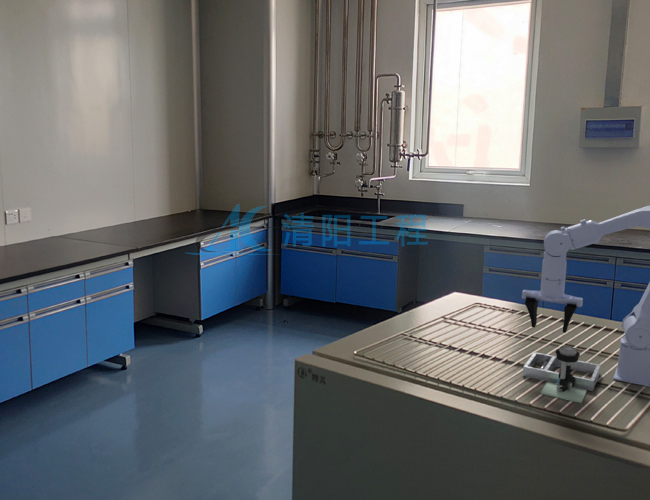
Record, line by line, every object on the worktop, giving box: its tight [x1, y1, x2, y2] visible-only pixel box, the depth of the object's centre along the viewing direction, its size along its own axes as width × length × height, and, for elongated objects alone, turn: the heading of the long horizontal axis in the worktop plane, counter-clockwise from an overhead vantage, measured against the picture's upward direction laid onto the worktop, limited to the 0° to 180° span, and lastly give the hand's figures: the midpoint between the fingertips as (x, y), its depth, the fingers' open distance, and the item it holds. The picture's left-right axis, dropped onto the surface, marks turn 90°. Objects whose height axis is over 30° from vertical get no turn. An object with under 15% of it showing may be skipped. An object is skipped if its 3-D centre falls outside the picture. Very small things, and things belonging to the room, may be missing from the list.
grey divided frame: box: [522, 351, 602, 392], centre depth 153 cm, size 16×12×2 cm
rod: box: [539, 361, 549, 370], centre depth 155 cm, size 2×8×2 cm
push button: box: [555, 345, 581, 392], centre depth 143 cm, size 7×5×10 cm
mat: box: [540, 381, 588, 404], centre depth 143 cm, size 9×7×1 cm
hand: (549, 328), depth 156 cm, fingers open, 7 cm apart
